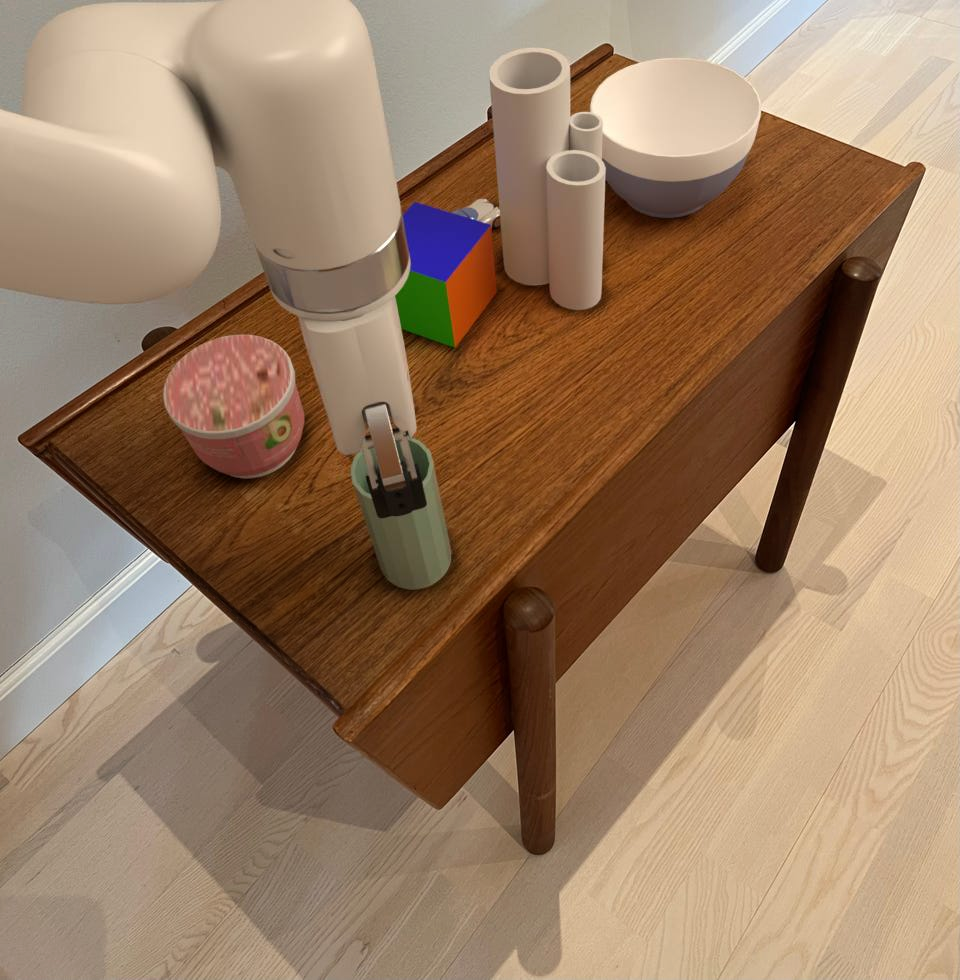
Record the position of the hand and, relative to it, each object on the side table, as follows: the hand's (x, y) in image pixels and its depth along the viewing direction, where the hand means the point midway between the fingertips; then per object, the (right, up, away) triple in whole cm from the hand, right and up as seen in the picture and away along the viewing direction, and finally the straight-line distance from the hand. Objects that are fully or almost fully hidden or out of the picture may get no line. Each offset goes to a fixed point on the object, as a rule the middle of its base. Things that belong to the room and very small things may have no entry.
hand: (387, 451), depth 62 cm
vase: (+14, +18, +29) cm, 37 cm away
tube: (+1, -8, +11) cm, 14 cm away
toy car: (+6, +24, +33) cm, 42 cm away
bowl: (+25, +28, +34) cm, 51 cm away
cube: (+2, +15, +27) cm, 31 cm away
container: (-13, +1, +19) cm, 24 cm away
